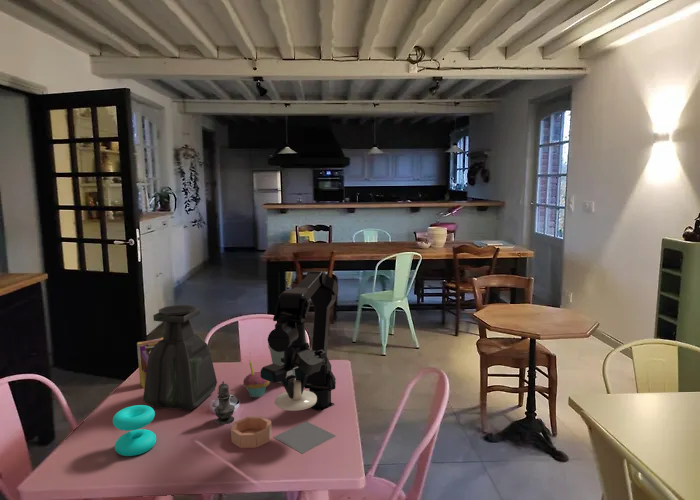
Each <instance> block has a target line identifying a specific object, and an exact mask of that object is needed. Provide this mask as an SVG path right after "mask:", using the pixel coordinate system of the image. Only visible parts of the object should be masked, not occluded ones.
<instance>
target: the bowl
mask: <svg viewBox="0 0 700 500" xmlns="http://www.w3.org/2000/svg"><path fill="white" fill-rule="evenodd" d="M272 429H273V428H272V421H271V420H270V419H268V418H266V417H264V416H245V417H244V418H241V419H239V420H236V421H233V425H232V427H231V429H230V431H231V432H230V433H231V435H230V437H231V443H232V444H234V445H235V446H237V447H238V448H240V449H247V448H248V449H251V448H258V447H259V448H260V447H261V446H263V445H265V444H267V443H269V442H270V441H271V437H272Z"/></svg>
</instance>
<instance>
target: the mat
mask: <svg viewBox="0 0 700 500" xmlns="http://www.w3.org/2000/svg"><path fill="white" fill-rule="evenodd" d="M335 437H337V436H336V434H334V433H331V432H329V431H327V430H325V429H323V428H322V427H320V426H317V425H316V424H313V423H311V422H309V421H304V422H302V423H300V424H298V425H296V426H293V427H291V428H290V429H288V430H284V431H283V432H281V433H279V434H277V435H275V436H273V439H275V440H277V441H279V442H281V443H282V444H284V445H286V446H287V447H289V448H291V449H293V450H294V451H295V452H298V453H300V454H305V453H307V452H309V451H310V450H312V449H315V448H316V447H318V446H321V445H322V444H323V443H326V442H327V441H329V440H332V439H333V438H335Z"/></svg>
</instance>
